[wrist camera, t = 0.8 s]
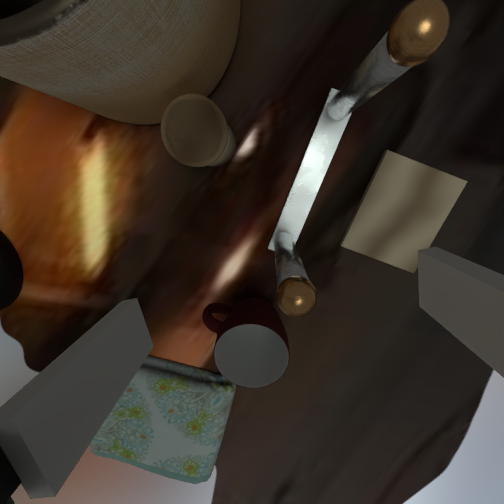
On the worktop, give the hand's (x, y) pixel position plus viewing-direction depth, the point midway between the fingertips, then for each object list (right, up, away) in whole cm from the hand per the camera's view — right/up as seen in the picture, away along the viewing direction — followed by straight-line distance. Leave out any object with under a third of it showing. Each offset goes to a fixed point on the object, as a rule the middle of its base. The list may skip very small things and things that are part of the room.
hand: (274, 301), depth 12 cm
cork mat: (+17, +7, +20) cm, 27 cm away
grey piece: (+6, +11, +20) cm, 23 cm away
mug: (-2, -6, +25) cm, 26 cm away
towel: (-16, -22, +31) cm, 41 cm away
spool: (-6, +15, +19) cm, 25 cm away
